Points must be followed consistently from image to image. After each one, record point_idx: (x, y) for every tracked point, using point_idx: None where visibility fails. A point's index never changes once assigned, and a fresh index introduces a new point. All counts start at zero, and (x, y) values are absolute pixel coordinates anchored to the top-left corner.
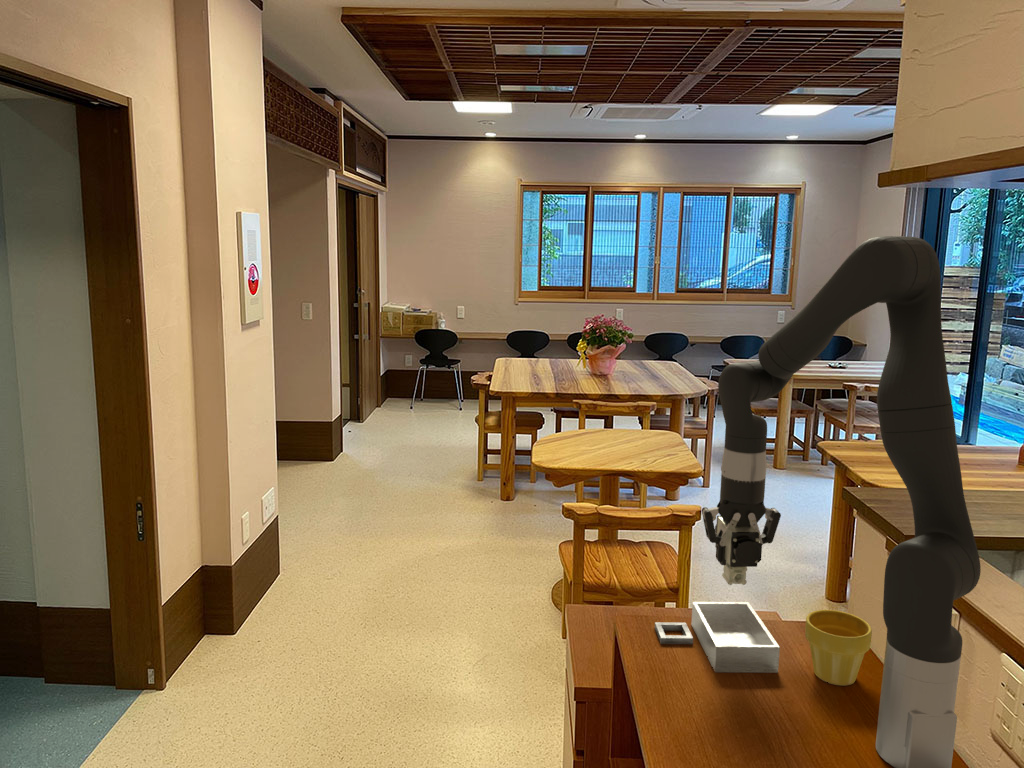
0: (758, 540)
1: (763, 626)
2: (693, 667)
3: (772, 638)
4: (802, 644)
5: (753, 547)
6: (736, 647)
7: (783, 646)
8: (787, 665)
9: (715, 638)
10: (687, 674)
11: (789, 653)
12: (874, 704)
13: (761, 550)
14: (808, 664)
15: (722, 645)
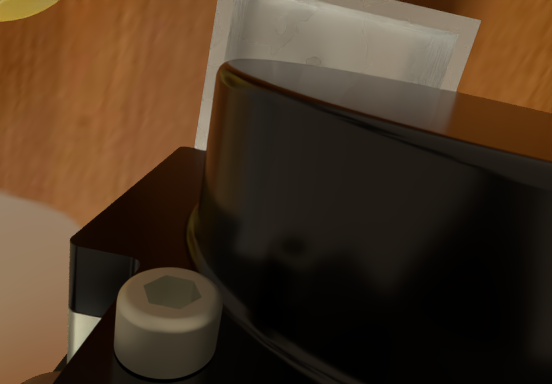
0: (135, 281)
1: (205, 129)
2: (497, 68)
3: (217, 35)
4: (79, 120)
5: (384, 104)
6: (398, 2)
7: (143, 123)
8: (187, 13)
9: (443, 84)
10: (544, 32)
11: (145, 80)
12: None
13: (131, 191)
14: (116, 4)
15: (449, 25)
